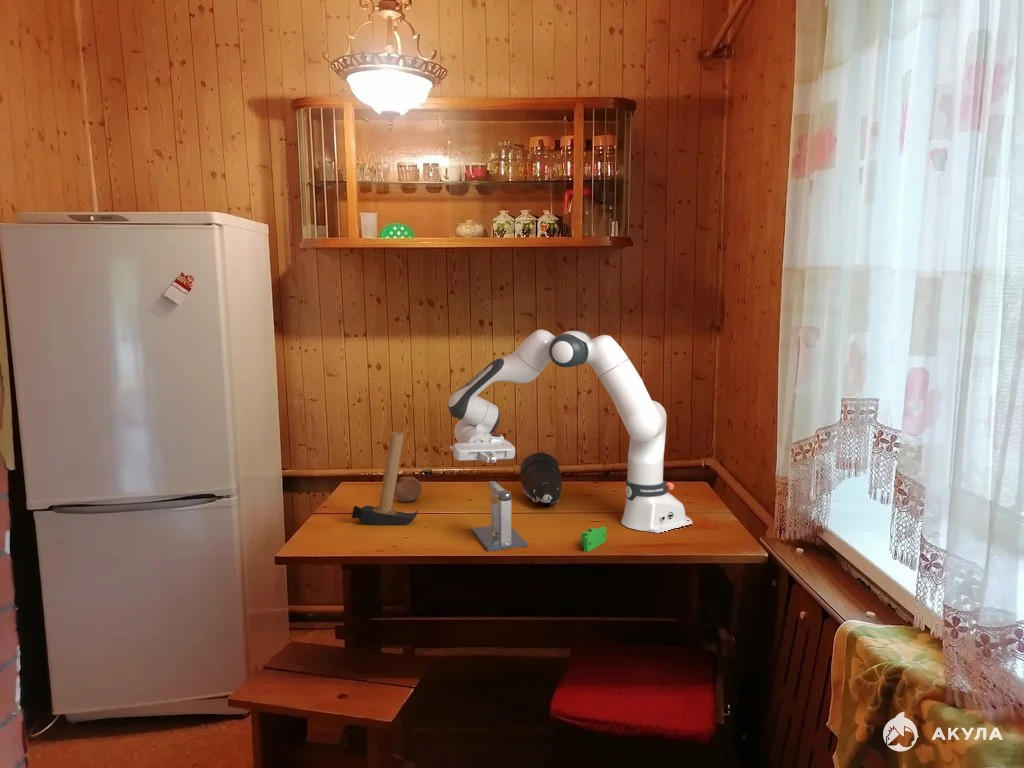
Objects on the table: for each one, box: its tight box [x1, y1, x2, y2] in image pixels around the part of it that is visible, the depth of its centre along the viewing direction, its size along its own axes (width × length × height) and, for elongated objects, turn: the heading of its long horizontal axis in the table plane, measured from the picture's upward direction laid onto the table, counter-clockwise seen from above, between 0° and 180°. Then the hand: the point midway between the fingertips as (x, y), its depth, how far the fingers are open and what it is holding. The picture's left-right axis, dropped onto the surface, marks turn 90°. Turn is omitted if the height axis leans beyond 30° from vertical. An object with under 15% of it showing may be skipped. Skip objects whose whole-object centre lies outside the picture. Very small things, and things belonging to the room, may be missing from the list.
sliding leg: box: [490, 491, 499, 534], centre depth 211 cm, size 3×3×13 cm
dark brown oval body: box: [519, 451, 563, 507], centre depth 247 cm, size 15×15×25 cm
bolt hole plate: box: [470, 525, 529, 552], centre depth 211 cm, size 12×18×1 cm, turn 19°
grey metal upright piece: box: [487, 481, 512, 544], centre depth 210 cm, size 4×15×15 cm, turn 19°
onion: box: [394, 476, 422, 503], centre depth 248 cm, size 10×9×10 cm
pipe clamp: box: [580, 526, 607, 553], centre depth 206 cm, size 11×4×5 cm, turn 145°
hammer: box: [351, 431, 419, 527], centre depth 223 cm, size 20×5×30 cm, turn 89°
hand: (491, 460), depth 221 cm, fingers closed
